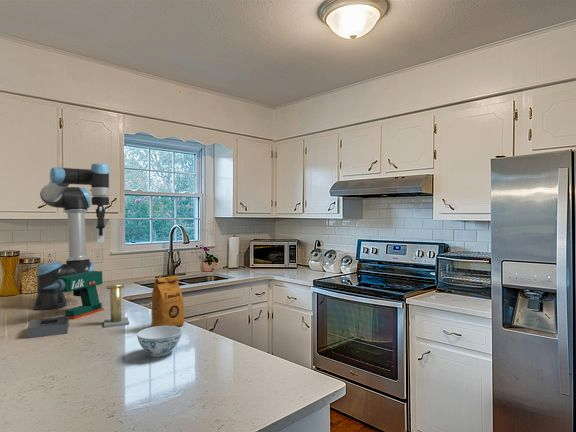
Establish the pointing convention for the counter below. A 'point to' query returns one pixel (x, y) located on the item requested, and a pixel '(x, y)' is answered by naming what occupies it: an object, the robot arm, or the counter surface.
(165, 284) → the coffee package
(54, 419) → the counter surface
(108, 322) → the pad
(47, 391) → the counter surface
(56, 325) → the chuck block
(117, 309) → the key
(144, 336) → the chinaware
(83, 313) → the power tool
